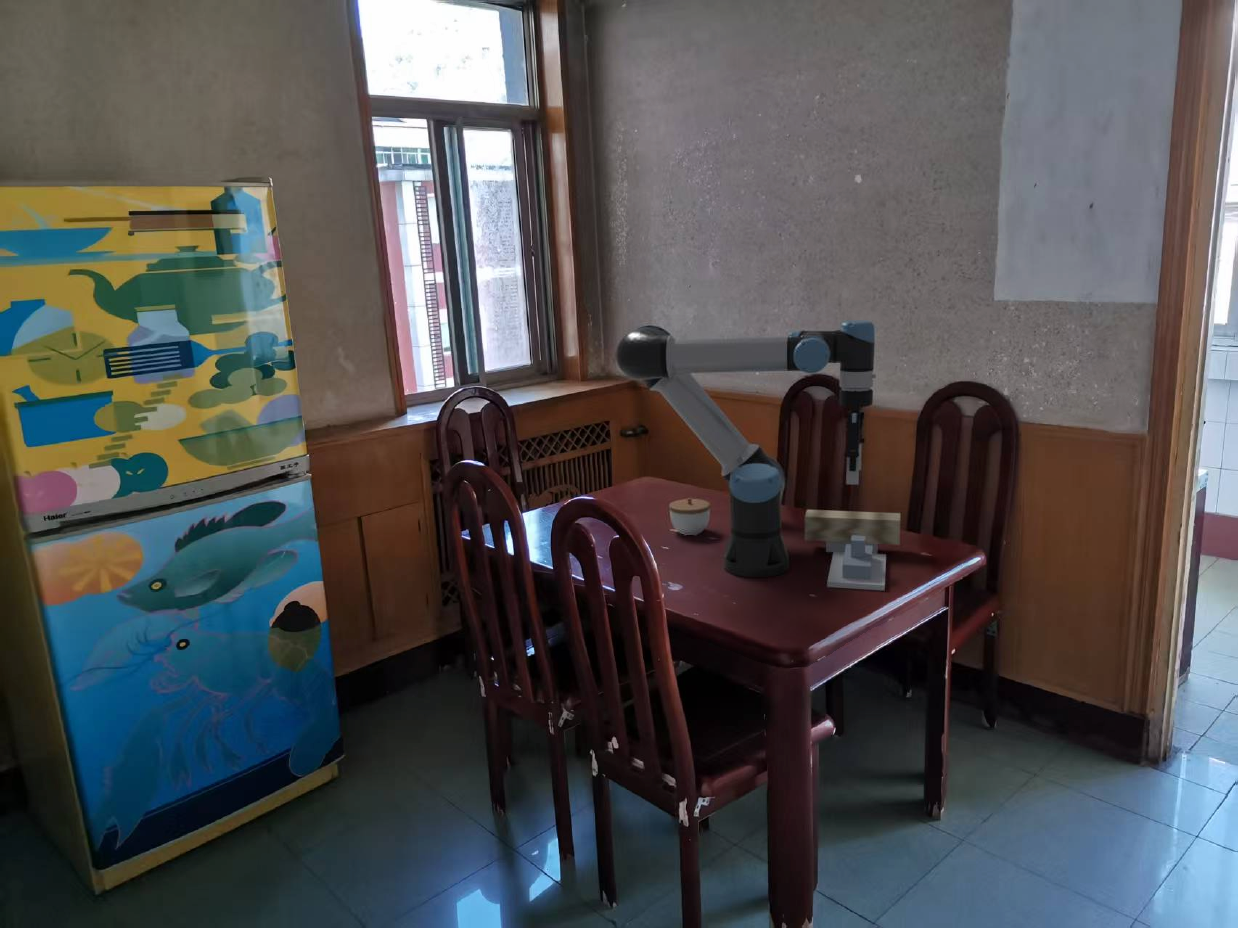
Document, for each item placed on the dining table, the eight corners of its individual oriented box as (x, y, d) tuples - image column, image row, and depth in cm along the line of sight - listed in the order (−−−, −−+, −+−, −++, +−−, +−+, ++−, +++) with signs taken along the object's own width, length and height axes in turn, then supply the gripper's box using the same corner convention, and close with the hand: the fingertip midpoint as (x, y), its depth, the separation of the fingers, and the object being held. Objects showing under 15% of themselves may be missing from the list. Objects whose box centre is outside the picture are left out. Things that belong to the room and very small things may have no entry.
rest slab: (826, 551, 214) (826, 540, 213) (827, 546, 217) (827, 534, 217) (877, 554, 210) (877, 542, 209) (877, 549, 214) (878, 537, 213)
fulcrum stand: (827, 586, 192) (827, 551, 190) (833, 556, 210) (833, 523, 208) (884, 590, 188) (885, 554, 186) (885, 559, 207) (886, 525, 205)
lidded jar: (709, 538, 228) (708, 504, 225) (668, 538, 229) (667, 504, 227) (711, 526, 238) (710, 492, 236) (672, 526, 240) (671, 492, 237)
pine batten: (804, 540, 213) (804, 516, 212) (807, 532, 219) (807, 509, 218) (899, 544, 207) (900, 520, 206) (899, 537, 212) (900, 513, 211)
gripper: (871, 397, 192) (868, 491, 197) (874, 380, 215) (871, 464, 220) (835, 396, 194) (833, 489, 199) (842, 380, 217) (841, 463, 222)
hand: (853, 476), depth 209 cm, fingers open, 13 cm apart
